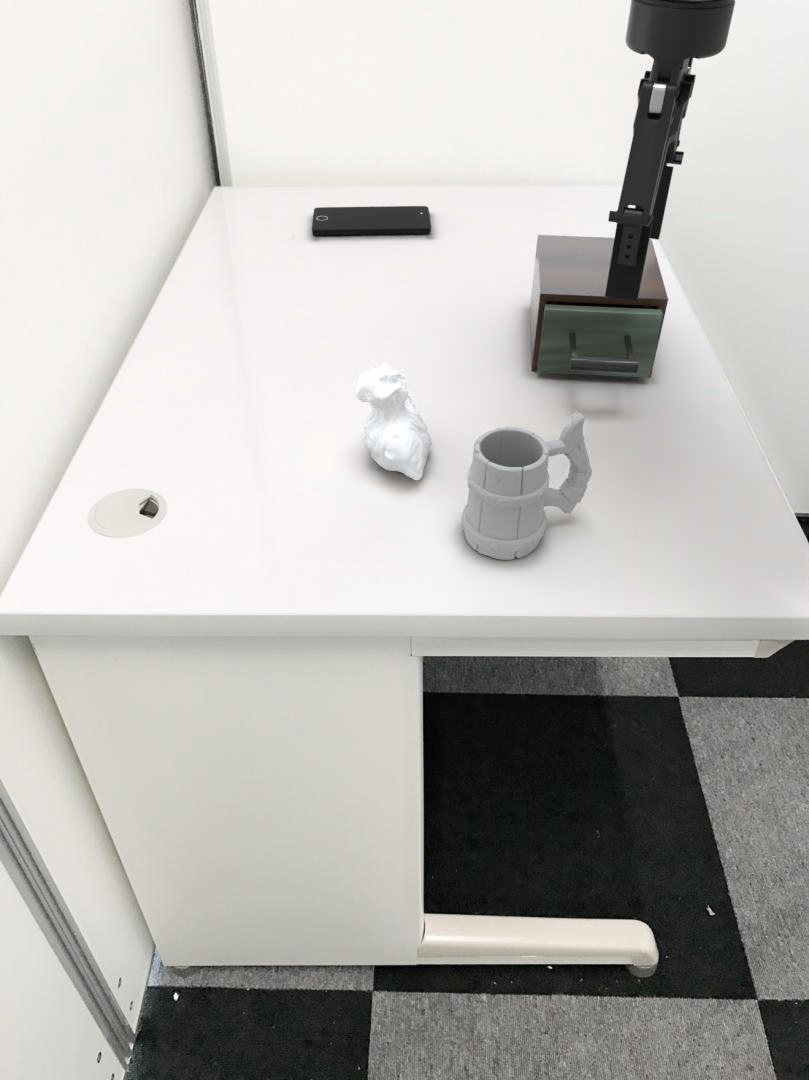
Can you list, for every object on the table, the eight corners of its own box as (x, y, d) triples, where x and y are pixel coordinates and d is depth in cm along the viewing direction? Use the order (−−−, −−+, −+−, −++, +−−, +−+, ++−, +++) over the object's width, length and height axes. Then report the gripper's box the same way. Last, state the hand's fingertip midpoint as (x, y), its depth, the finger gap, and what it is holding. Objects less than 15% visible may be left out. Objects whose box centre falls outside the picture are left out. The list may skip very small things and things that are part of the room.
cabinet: (650, 377, 99) (668, 299, 92) (531, 371, 100) (540, 293, 93) (636, 312, 110) (651, 239, 104) (529, 308, 111) (537, 234, 105)
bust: (389, 440, 93) (321, 373, 87) (445, 401, 91) (379, 329, 84) (400, 511, 84) (325, 442, 78) (462, 470, 82) (389, 395, 75)
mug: (449, 516, 80) (454, 409, 72) (563, 492, 83) (580, 387, 75) (477, 570, 75) (486, 461, 67) (599, 543, 78) (621, 435, 70)
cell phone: (314, 213, 134) (314, 207, 134) (428, 211, 135) (428, 205, 134) (311, 236, 128) (311, 229, 127) (431, 234, 128) (431, 228, 128)
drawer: (655, 411, 92) (671, 346, 86) (538, 404, 93) (546, 340, 87) (635, 316, 107) (647, 256, 102) (535, 312, 108) (542, 252, 103)
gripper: (656, -39, 73) (615, 210, 87) (604, 20, 55) (564, 319, 69) (747, -34, 71) (691, 219, 85) (723, 28, 53) (657, 334, 68)
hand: (633, 265), depth 77 cm, fingers open, 13 cm apart
